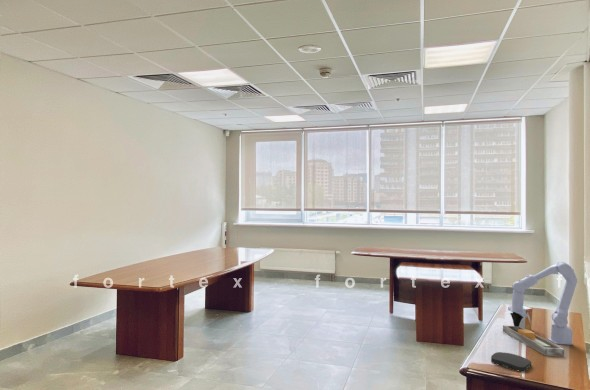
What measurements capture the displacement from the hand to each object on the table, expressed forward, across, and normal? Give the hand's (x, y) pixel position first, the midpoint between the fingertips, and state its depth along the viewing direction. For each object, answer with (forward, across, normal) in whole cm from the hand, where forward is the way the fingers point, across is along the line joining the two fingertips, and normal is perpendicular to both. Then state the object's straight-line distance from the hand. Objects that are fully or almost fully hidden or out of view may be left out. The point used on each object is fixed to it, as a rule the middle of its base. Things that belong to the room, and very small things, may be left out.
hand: (516, 326), depth 227 cm
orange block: (+3, +9, 0) cm, 9 cm away
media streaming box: (+5, +43, -30) cm, 53 cm away
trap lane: (+5, +13, 0) cm, 14 cm away
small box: (+5, -12, +12) cm, 18 cm away
